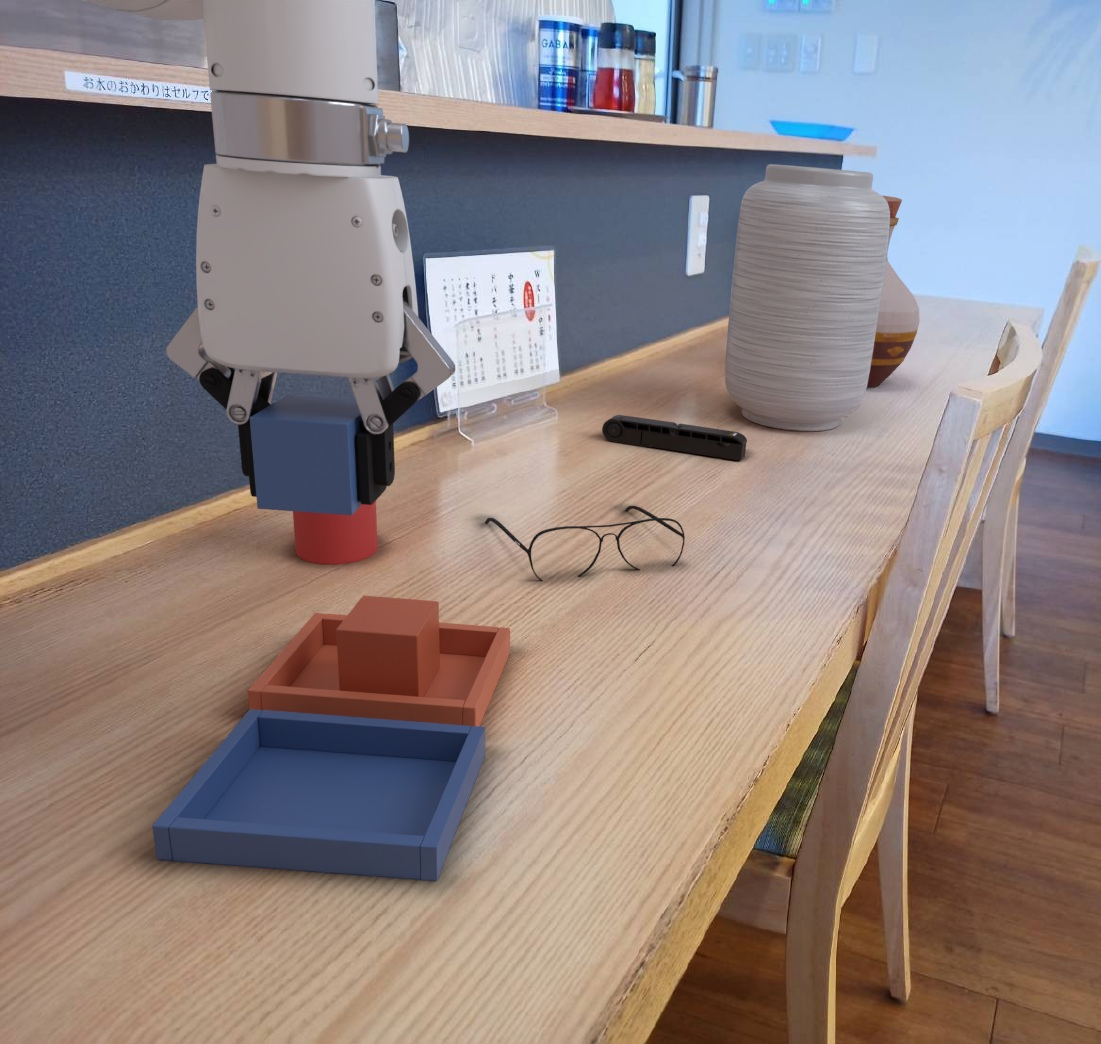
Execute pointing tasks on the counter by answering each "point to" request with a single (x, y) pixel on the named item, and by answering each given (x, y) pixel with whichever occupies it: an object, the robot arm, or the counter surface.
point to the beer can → (336, 536)
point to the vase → (805, 296)
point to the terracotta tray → (453, 697)
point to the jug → (893, 317)
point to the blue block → (306, 455)
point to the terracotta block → (389, 646)
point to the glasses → (596, 534)
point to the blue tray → (326, 796)
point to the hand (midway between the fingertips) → (320, 489)
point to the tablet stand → (675, 437)
